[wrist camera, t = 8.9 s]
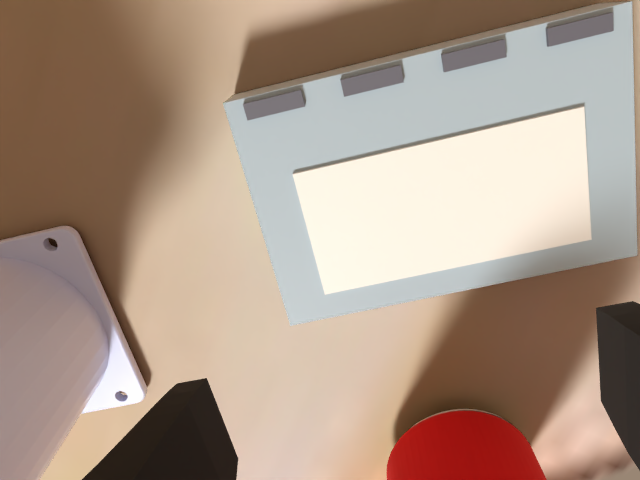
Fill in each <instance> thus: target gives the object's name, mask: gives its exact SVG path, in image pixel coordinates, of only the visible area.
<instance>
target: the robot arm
mask: <svg viewBox="0 0 640 480" xmlns="http://www.w3.org/2000/svg"><path fill="white" fill-rule="evenodd" d="M48 238H52V239H54V240H55V241H56V242H57V245H58V247H54V246H52V245H51V244H50V243H49V240H48ZM596 314H597V333H598V352H599V371H600V390H601V402H602V404H603V406H604V408H605V410H606V412H607V414H608V415H609V417H610V419H611V421H612V423H613V425H614V427H615V429H616V431H617V433H618V435H619V437H620V439H621V441H622V442H623V444H624V446H625V448H626V450H627V452H628V454H629V455H630V457H631V458H632V460H633V461H634V463H635V464H636V466H637V467H638V469H639V470H640V304H638V303H636V302H633V301H632V302H627V303H621V304H615V305H610V306H604V307H599V308H596ZM119 391H123V392H125V393H126V394H127V395H122V394H121V393H120V392H119ZM146 393H147V386H146V384H145V382H144V379H143V377H142V375H141V373H140V370H139V368H138V366H137V364H136V361H135V359H134V357H133V355H132V352H131V350H130V348H129V345H128V343H127V341H126V339H125V336H124V334H123V332H122V330H121V327H120V325H119V323H118V321H117V318H116V316H115V314H114V312H113V309H112V307H111V305H110V302H109V300H108V298H107V296H106V293H105V291H104V289H103V287H102V284H101V282H100V280H99V278H98V275H97V273H96V271H95V269H94V266H93V264H92V262H91V259H90V257H89V255H88V253H87V250H86V248H85V246H84V244H83V241H82V239H81V237H80V235H79V233H78V232H77V231H76V230H75V229H74V228H72V227H69V226H59V227H55V228H50V229H46V230H42V231H38V232H33V233H29V234H25V235H20V236H16V237H12V238H7V239H3V240H0V480H40V478H41V477H42V475H43V474H44V472H45V470H46V469H47V467H48V466H49V464H50V462H51V461H52V459H53V458H54V456H55V454H56V453H57V451H58V450H59V448H60V446H61V445H62V443H63V442H64V440H65V438H66V437H67V435H68V434H69V432H70V430H71V429H72V427H73V426H74V424H75V422H76V421H77V419H78V418H79V416H80V414H82V413H88V412H93V411H98V410H103V409H108V408H114V407H119V406H124V405H129V404H134V403H138V402H141V401H142V400H143V399H144V398H145V396H146ZM237 465H238V457H237V455H236V452H235V450H234V447H233V444H232V442H231V439H230V437H229V434H228V432H227V429H226V426H225V424H224V421H223V419H222V416H221V414H220V411H219V409H218V406H217V403H216V401H215V398H214V396H213V393H212V391H211V388H210V385H209V383H208V380H207V378H205V379H200V380H194V381H189V382H183V383H178V384H176V385H175V386H174V387H173V388H172V389H170V390H169V391H168V392H167V393H166V394H165V395H164V396H163V397H162V398H161V399H160V400H159V401H158V402H157V403H156V404H155V405H154V406H153V407H152V408H151V409H150V411H149V412H148V413H147V414H146V415H145V416H144V417H143V418H142V419H141V420H140V421H139V422H138V423H137V424H136V425H135V426H134V427H133V428H132V429H131V430H130V431H129V432H128V434H127V435H126V436H125V437H124V438H123V439H122V440H121V441H120V442H119V443H118V444H117V445H116V446H115V447H114V448H113V449H112V450H111V451H110V452H109V453H108V454H107V455H106V456H105V457H104V458H103V459H102V460H101V461H100V463H99V464H98V465H97V466H96V467H94V468H93V469H92V470H91V471H90V472H89V473H88V474H87V475H86V476H85V477H84V478H83V479H82V480H236V476H237Z"/></svg>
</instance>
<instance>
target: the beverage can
mask: <svg viewBox="0 0 640 480" xmlns="http://www.w3.org/2000/svg"><path fill="white" fill-rule="evenodd" d="M387 480H546V478H545V476H544V473H543V471H542V469H541V467H540V465H539V463H538V461H537V459H536V456H535V454H534V452H533V450H532V448H531V446H530V444H529V442H528V441H527V439H526V438H525V437H524V435H523V434H522V433H521V432H520V431H519V430H518V429H517V428H516V427H515V426H513V425H512V424H511V423H510V422H508V421H507V420H505V419H503V418H502V417H500V416H497V415H495V414H492V413H489V412H486V411H481V410H475V409H455V410H448V411H443V412H440V413H437V414H434V415H431V416H429V417H427V418H425V419H423V420H421V421H419V422H418V423H416V424H415V425H414V426H412V427H411V428H410V429H409V430H408V431H407V432H406V433H405V434H403V436H402V437H401V438H400V439H399V440H398V442H397V443H396V444H395V446H394V448H393V450H392V452H391V454H390V457H389V460H388V464H387Z"/></svg>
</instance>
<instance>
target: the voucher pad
mask: <svg viewBox="0 0 640 480" xmlns="http://www.w3.org/2000/svg"><path fill="white" fill-rule="evenodd" d="M223 105H224V108H225V111H226V115H227V118H228V121H229V124H230V128H231V131H232V134H233V138H234V141H235V144H236V148H237V151H238V154H239V157H240V161H241V164H242V167H243V171H244V174H245V177H246V181H247V184H248V187H249V190H250V194H251V197H252V200H253V204H254V207H255V210H256V214H257V217H258V220H259V223H260V227H261V230H262V233H263V237H264V240H265V243H266V247H267V250H268V253H269V256H270V260H271V263H272V266H273V270H274V273H275V276H276V279H277V283H278V286H279V289H280V293H281V296H282V299H283V303H284V306H285V309H286V312H287V316H288V319H289V322H290V326H291V325H296V324H301V323H306V322H311V321H316V320H321V319H326V318H331V317H336V316H341V315H346V314H351V313H356V312H361V311H366V310H371V309H376V308H381V307H385V306H390V305H395V304H400V303H405V302H410V301H415V300H420V299H425V298H430V297H435V296H440V295H445V294H450V293H455V292H460V291H465V290H470V289H475V288H480V287H485V286H489V285H494V284H499V283H504V282H509V281H514V280H519V279H524V278H529V277H534V276H539V275H544V274H549V273H554V272H559V271H564V270H569V269H574V268H579V267H584V266H589V265H593V264H598V263H603V262H608V261H613V260H618V259H623V258H628V257H633V256H637V211H636V162H635V113H634V65H633V16H632V1H627V2H609V3H597V4H593V5H589V6H585V7H581V8H577V9H573V10H569V11H565V12H561V13H557V14H553V15H549V16H545V17H541V18H537V19H533V20H529V21H525V22H521V23H517V24H513V25H509V26H505V27H501V28H497V29H493V30H489V31H485V32H481V33H477V34H473V35H469V36H465V37H462V38H458V39H454V40H450V41H446V42H442V43H438V44H434V45H430V46H426V47H422V48H418V49H414V50H410V51H406V52H402V53H398V54H394V55H390V56H386V57H382V58H378V59H374V60H370V61H366V62H362V63H358V64H354V65H350V66H346V67H342V68H338V69H334V70H330V71H326V72H322V73H318V74H314V75H310V76H306V77H302V78H298V79H294V80H290V81H286V82H282V83H278V84H274V85H270V86H266V87H262V88H258V89H254V90H250V91H246V92H242V93H238V94H234V95H233V96H231V97H230V98H229V99H228V100H227V101H225V102H224V103H223Z"/></svg>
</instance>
